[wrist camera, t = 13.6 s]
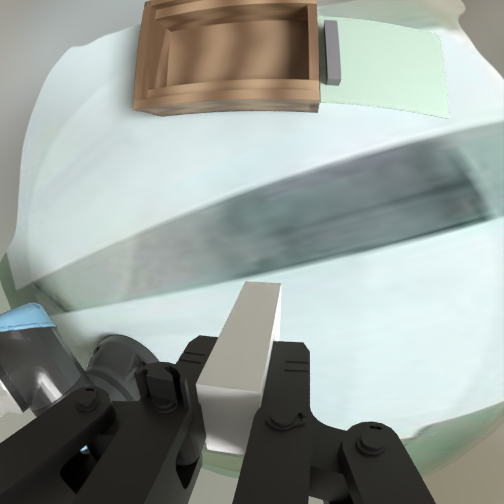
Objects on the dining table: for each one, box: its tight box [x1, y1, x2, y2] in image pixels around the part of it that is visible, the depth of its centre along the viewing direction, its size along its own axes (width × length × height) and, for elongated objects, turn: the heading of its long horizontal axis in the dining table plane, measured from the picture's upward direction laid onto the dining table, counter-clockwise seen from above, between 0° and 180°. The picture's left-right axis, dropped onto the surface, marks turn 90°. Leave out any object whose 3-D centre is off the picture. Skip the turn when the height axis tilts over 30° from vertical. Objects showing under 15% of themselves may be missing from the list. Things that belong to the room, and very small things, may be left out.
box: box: [133, 0, 320, 116], centre depth 28 cm, size 20×15×7 cm
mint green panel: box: [317, 16, 449, 119], centre depth 27 cm, size 17×12×4 cm
